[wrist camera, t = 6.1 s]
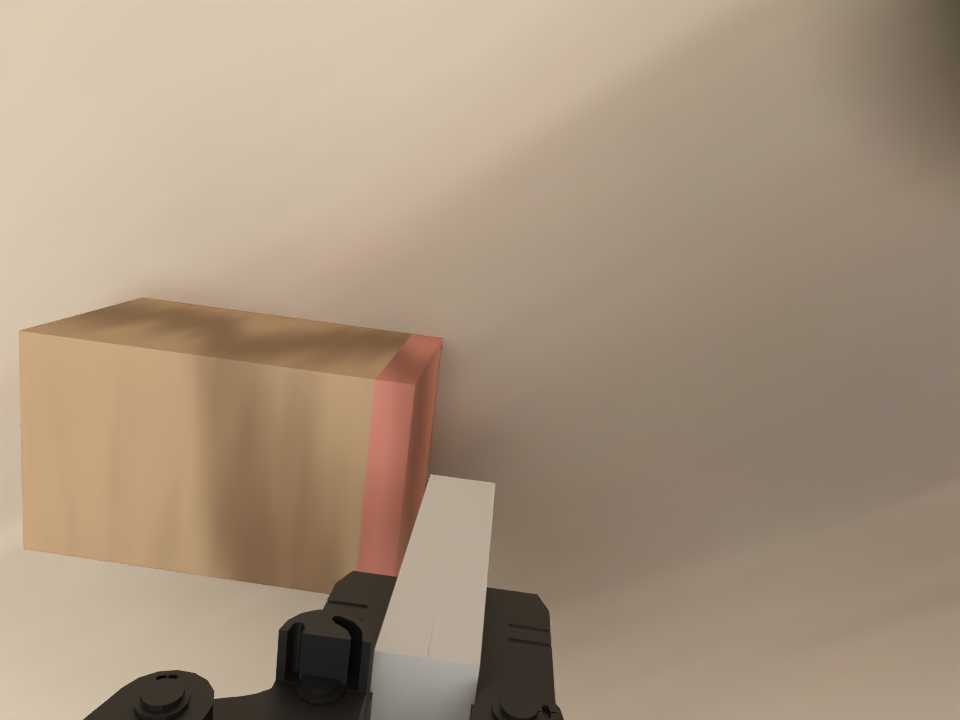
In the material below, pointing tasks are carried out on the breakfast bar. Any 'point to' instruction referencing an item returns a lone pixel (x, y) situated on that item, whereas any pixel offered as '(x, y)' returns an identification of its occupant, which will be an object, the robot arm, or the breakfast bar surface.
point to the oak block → (225, 442)
